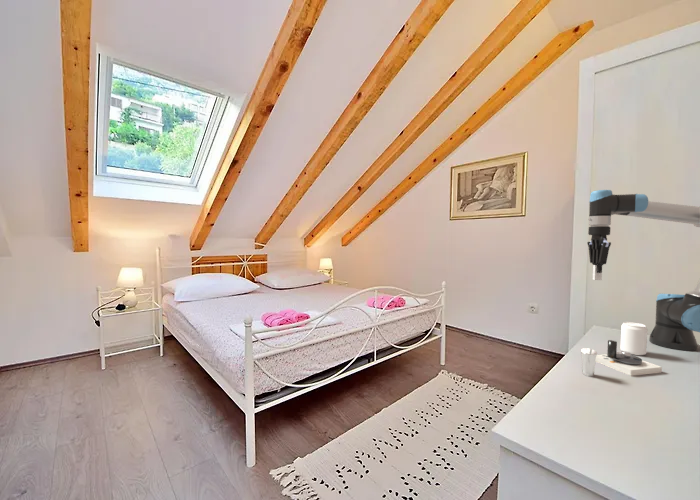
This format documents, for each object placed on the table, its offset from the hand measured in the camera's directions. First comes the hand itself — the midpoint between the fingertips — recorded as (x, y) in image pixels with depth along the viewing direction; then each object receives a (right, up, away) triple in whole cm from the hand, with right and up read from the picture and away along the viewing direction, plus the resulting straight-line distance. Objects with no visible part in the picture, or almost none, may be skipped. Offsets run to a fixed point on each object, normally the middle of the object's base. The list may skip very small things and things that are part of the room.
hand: (597, 279), depth 139 cm
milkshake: (-25, -31, -29) cm, 49 cm away
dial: (-7, -28, -21) cm, 36 cm away
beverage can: (+10, -30, -7) cm, 32 cm away
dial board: (-6, -30, -21) cm, 37 cm away
